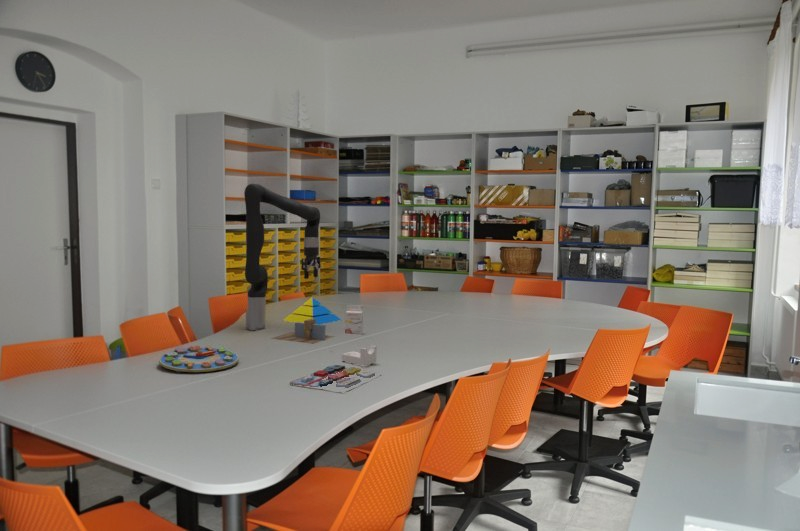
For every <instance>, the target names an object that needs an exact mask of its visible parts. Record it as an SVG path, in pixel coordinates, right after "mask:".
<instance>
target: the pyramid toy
mask: <svg viewBox="0 0 800 531" xmlns="http://www.w3.org/2000/svg"><path fill="white" fill-rule="evenodd" d="M302 304H303V305H300V306H299V307H297V308H296V309H295V310H294V311H293V312H292V313H290V314H289V315H287V316H286V317H285V318H283V320H284V321H283V322H287V321H289V323H293V322H295V323H296V322H301V323H304V320H308V319H316V324H320V325H324V324H323V323H325V324H329V322H330V323H334V322H333V321H335V322H339V321H338V320H340V321H342V319H341V318H339V316H337V315H336V314H334V313H333V312H332V311H331V310H330V309H328V308H327V307H326V306H324V305H322V303H321V302H319V301H318V300H317V299H316V298H315V297H313V296H311V297H310V298H309V299H307V301H305V302H304V303H302ZM295 323H294V324H295Z"/></svg>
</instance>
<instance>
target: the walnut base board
mask: <svg viewBox="0 0 800 531" xmlns="http://www.w3.org/2000/svg"><path fill="white" fill-rule="evenodd" d="M334 337H336V336H335V335H327V334H325V340H328V339H331V338H334ZM270 339H273V340H280V341H288V342H295V343H296V342H297V343H305V344H311V345H312V344H316V343H317V344H318V343H319V342H322V341H325V340H317V339H309V340H308V339H304V338H300V337H295V331H292V332H287V333H284V334H280V335H277V336H275V337H274V336H273V337H271V338H270Z"/></svg>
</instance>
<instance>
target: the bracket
mask: <svg viewBox="0 0 800 531" xmlns="http://www.w3.org/2000/svg"><path fill="white" fill-rule="evenodd" d="M367 349H368V348H365V347H360V349H359V350H360V352H357V351H354V350H353V351H348V352H344V353H341V362H342V361H345V362H350V363H354V364H359V365H364V366H366V365H369V364H371V365H372V364H375V363H377V345H370V347H369V349H368V350H367ZM345 362H344V363H345ZM350 363H349V364H350ZM354 364H353V365H354ZM359 365H358V366H359ZM366 367H367V366H366Z"/></svg>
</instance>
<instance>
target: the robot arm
mask: <svg viewBox="0 0 800 531" xmlns="http://www.w3.org/2000/svg"><path fill="white" fill-rule="evenodd" d="M243 195H244V203H245V211H246V212H245V224H246V225H245V239H246V240H245V244H246V245H245V246H246V247H245V248H246V249H245V252H246V254H245V255H246V257H245V258H246V259H245V267H244V268H245V269H244V277H245V280H246V281H247V283H248V284H250V288H249V289H248V291H247V310H246V311H245V329H246V330H248V329H249V330H248V331H253V330H258V331H262V330H266V329H267V328H266V326H267V325H266V324H267V323H266V322H267V320H266V319H267V316H266V315H267V314H266V313H267V312H266V310H267V303H266V302H267V301H266V300H267V299H266V298H267V297H266V296H267V291H268V281H269V280H268V279H269V278H268V277H269V274H268V271H267V270H268V269H267V268H266V267H265V266H263V265H261V264H260V263H261V262H260V256H261V252H262V249H263V247H264V243H265V225H264V222H263V221H264V220H263V219H262V215H261V203H264V204H268V205H271V206H274V207H275V208H278V209H280V210H281V211H283V212H286V213H289V214H290V215H294V216H297V217H300V218H302V219H303V220H306V224H305V225H306V226H305V227H304V240H303V256H305V258H304V257H302V258H301V267H300V268H301V270H302V271H303V278H304V279H305V280H308V279H309V278H310V273H309V272H310V271H309V270H310V268H311V267H312V268H313V269H312V270H313V275H312V276H313V277H314V278H318V277H319V273H318V272H319V269H321V267H322V266H321V257H320V256H319V255H320V253H319V250H320V241H319V227H320V220H321V212H320V210H319V209H318V208H317V207H315V206H309V205H306V204H303V203H301V201H298V200H295V199H293V198H290V197H287V196H283V195H281V194H278V193H276V192H273V191H271V190H270V189H268V188H267V187H264V186H263V185H262V184H259V183H250V184H247V185H246V187H245V188H244V194H243Z"/></svg>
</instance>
